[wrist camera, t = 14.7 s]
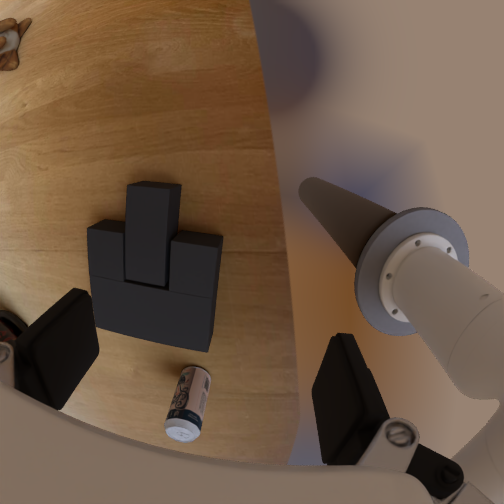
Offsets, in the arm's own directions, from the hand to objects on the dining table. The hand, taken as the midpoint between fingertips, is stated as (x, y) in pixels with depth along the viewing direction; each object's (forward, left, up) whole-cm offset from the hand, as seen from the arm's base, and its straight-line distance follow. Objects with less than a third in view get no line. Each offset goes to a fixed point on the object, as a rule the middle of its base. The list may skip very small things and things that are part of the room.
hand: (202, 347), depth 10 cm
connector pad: (+10, +3, -24) cm, 26 cm away
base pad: (+10, +10, -24) cm, 28 cm away
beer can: (+4, +26, -24) cm, 36 cm away
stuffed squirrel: (+46, -26, -24) cm, 58 cm away
